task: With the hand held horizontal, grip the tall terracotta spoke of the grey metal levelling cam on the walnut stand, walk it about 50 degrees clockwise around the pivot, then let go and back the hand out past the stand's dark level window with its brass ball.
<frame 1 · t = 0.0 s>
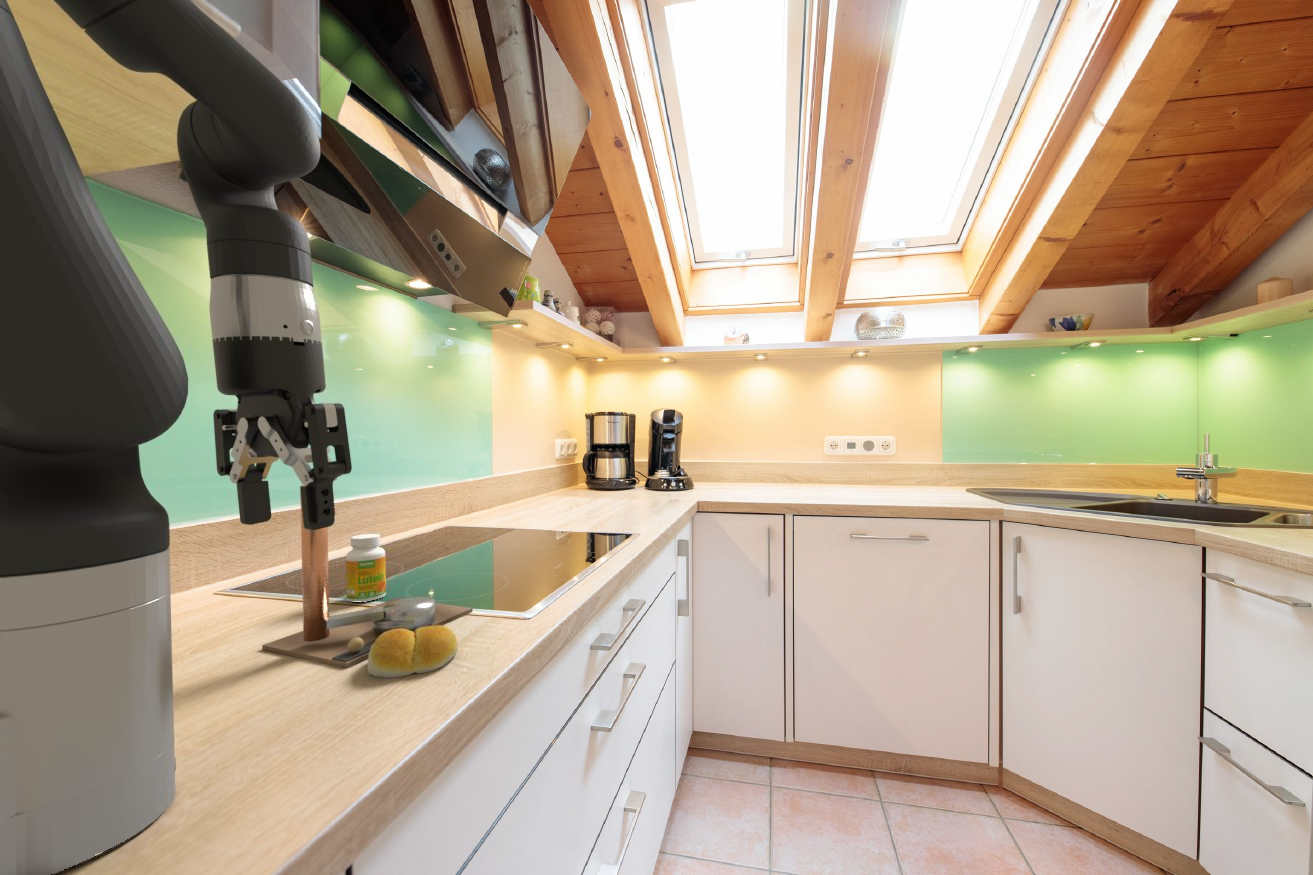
hand: (287, 525, 45), 17 cm above the counter, tool pointing down, fingers open, 8 cm apart
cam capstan: (371, 555, 64), point 10 cm above the counter, hinge at 25.0°
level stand: (410, 630, 67), on the counter
bread roll: (412, 665, 57), on the counter
supplement bottle: (366, 599, 81), on the counter
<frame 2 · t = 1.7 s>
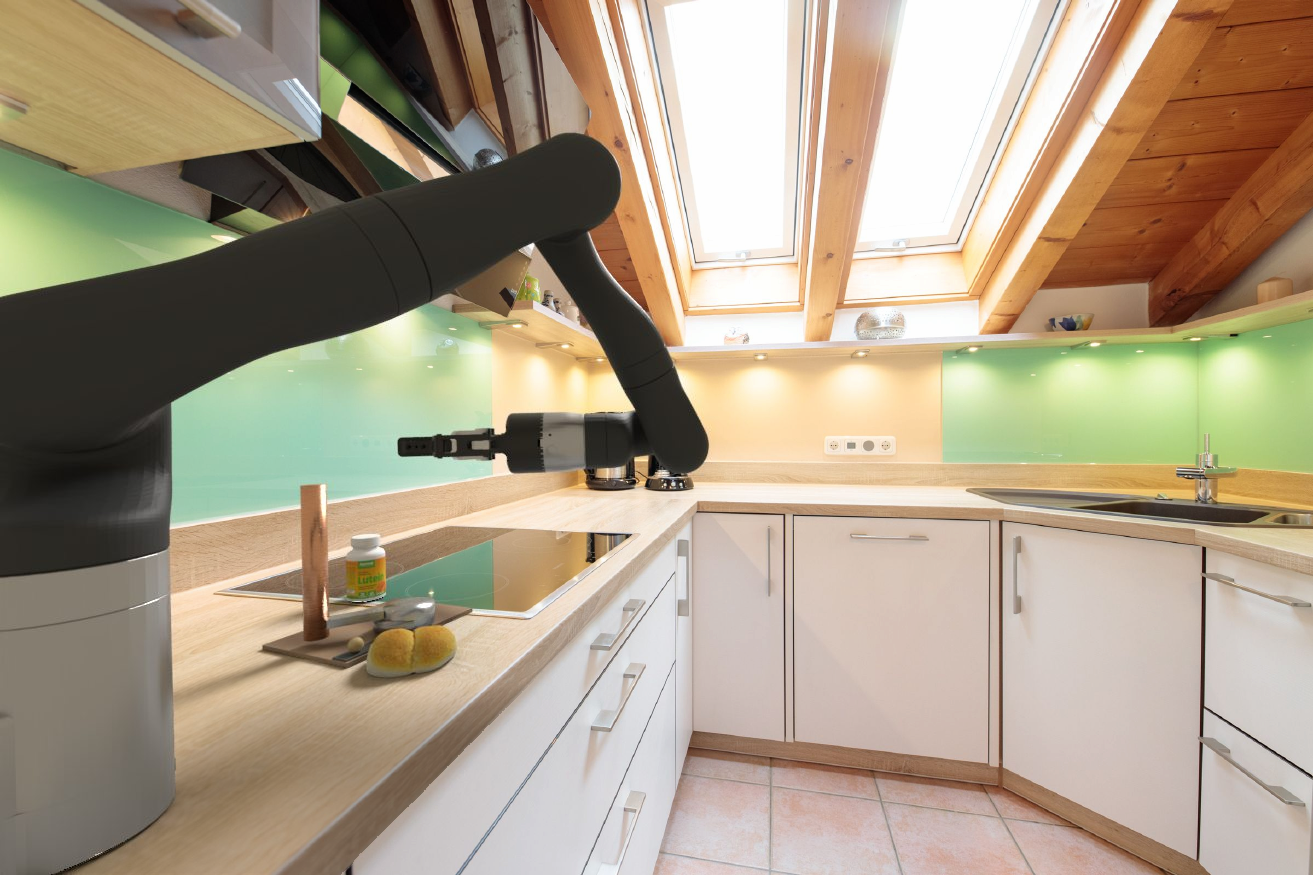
hand: (411, 446, 63), 24 cm above the counter, tool horizontal, fingers open, 8 cm apart
nothing on the counter moved.
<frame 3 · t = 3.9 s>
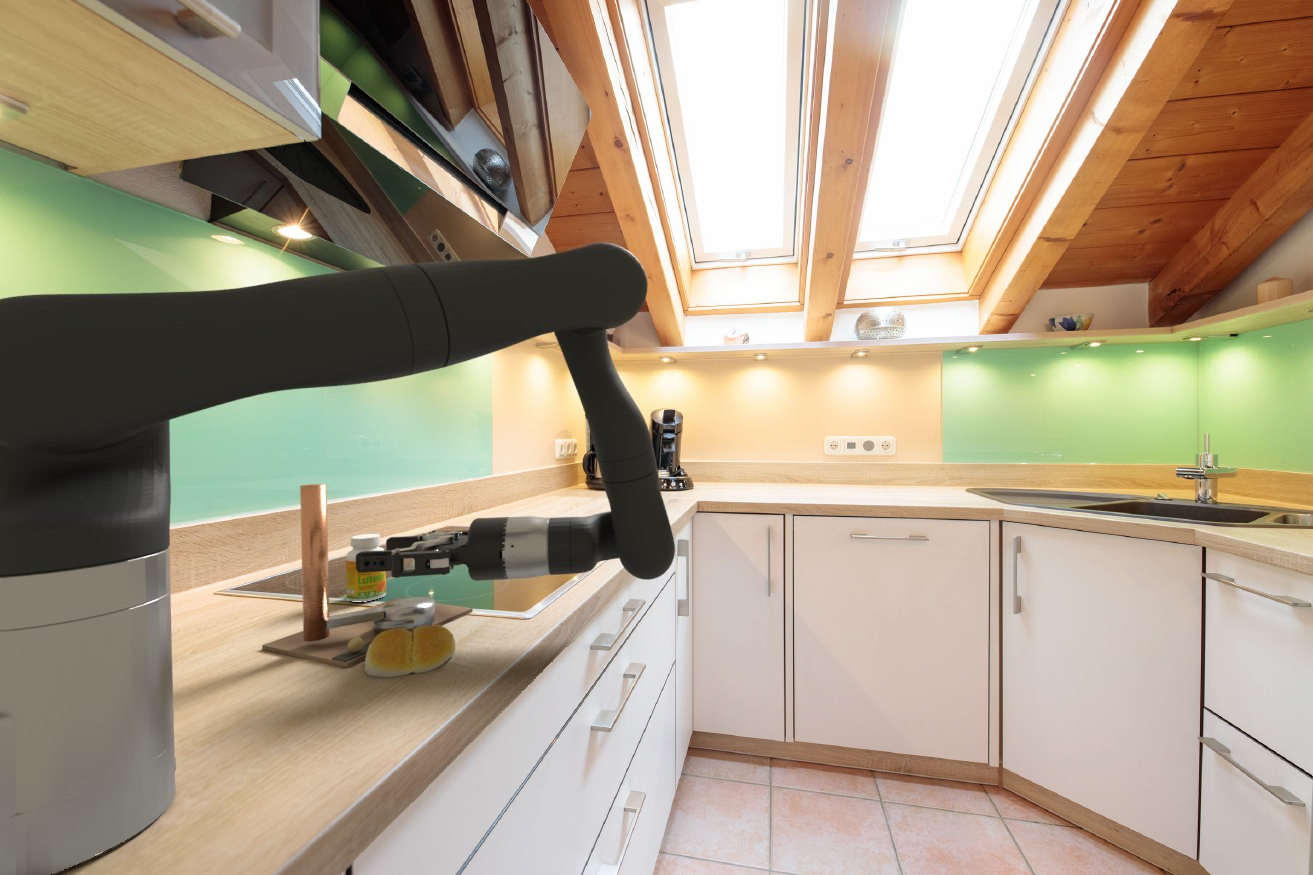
hand: (373, 553, 62), 11 cm above the counter, tool horizontal, fingers open, 8 cm apart
nothing on the counter moved.
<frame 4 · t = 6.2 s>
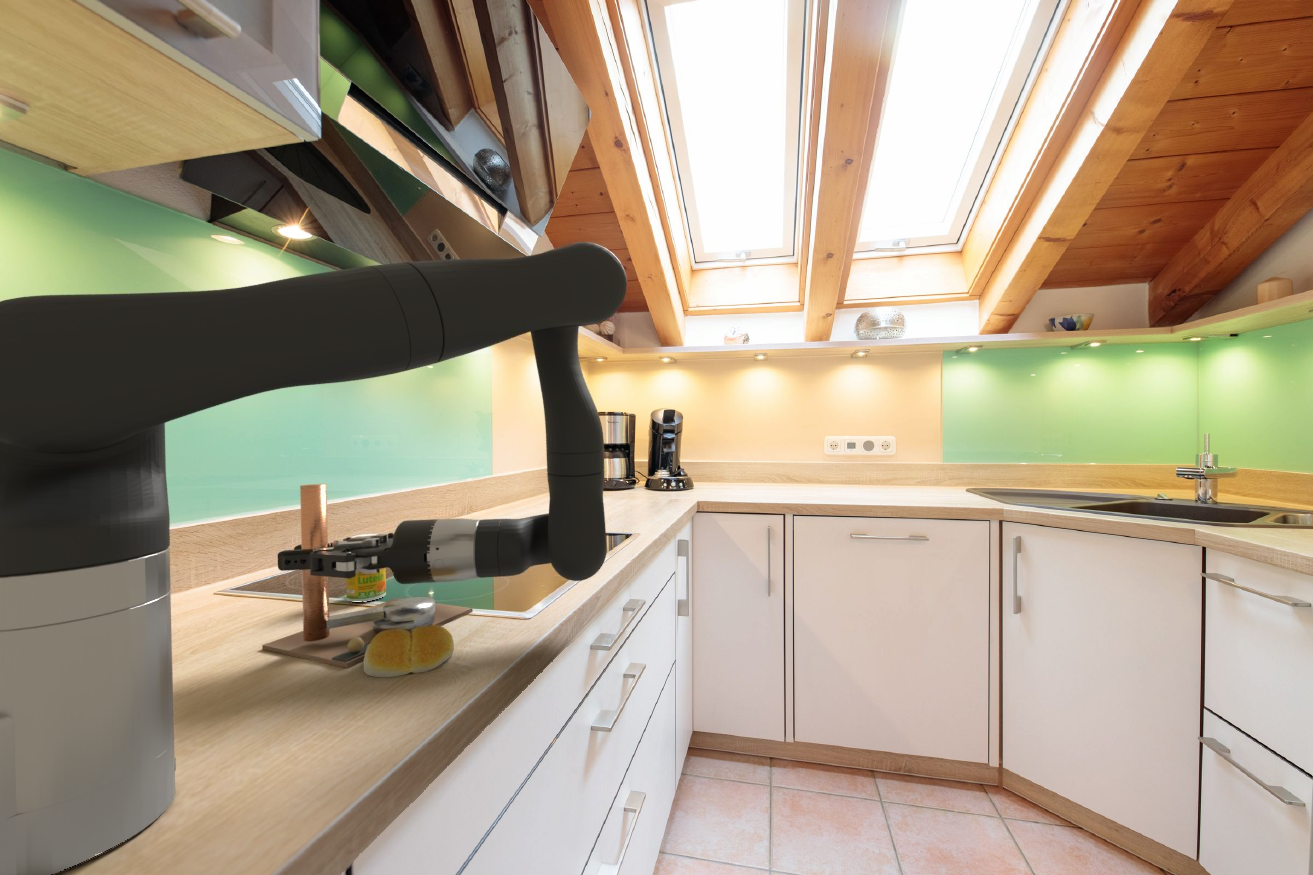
hand: (288, 557, 61), 11 cm above the counter, tool horizontal, fingers closed on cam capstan, 2 cm apart
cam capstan: (371, 555, 64), point 10 cm above the counter, hinge at 24.9°, touching gripper
everything else where it was.
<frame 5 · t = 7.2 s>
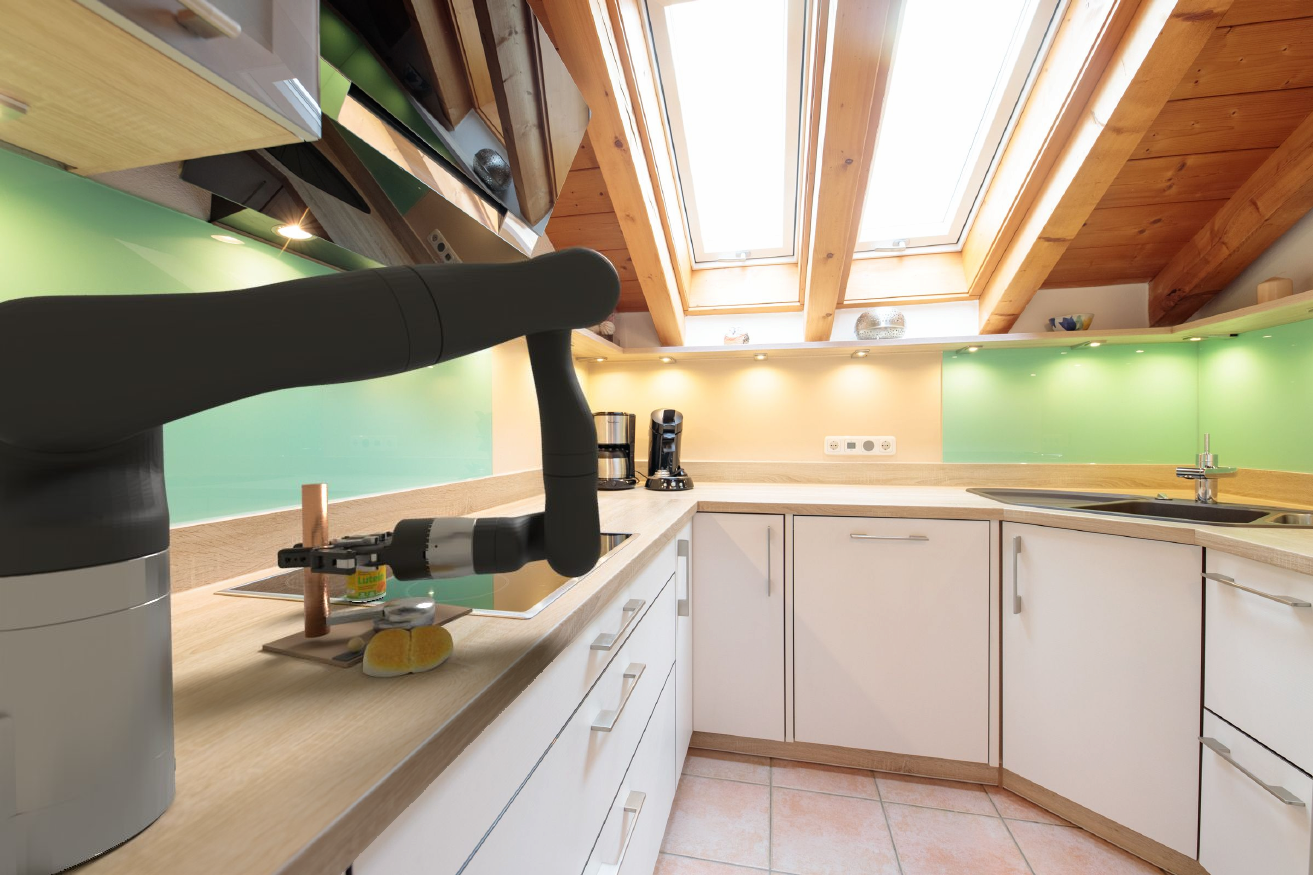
hand: (287, 555, 62), 11 cm above the counter, tool horizontal, fingers closed on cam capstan, 2 cm apart
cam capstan: (371, 555, 65), point 10 cm above the counter, hinge at 17.7°, touching gripper
everything else where it was.
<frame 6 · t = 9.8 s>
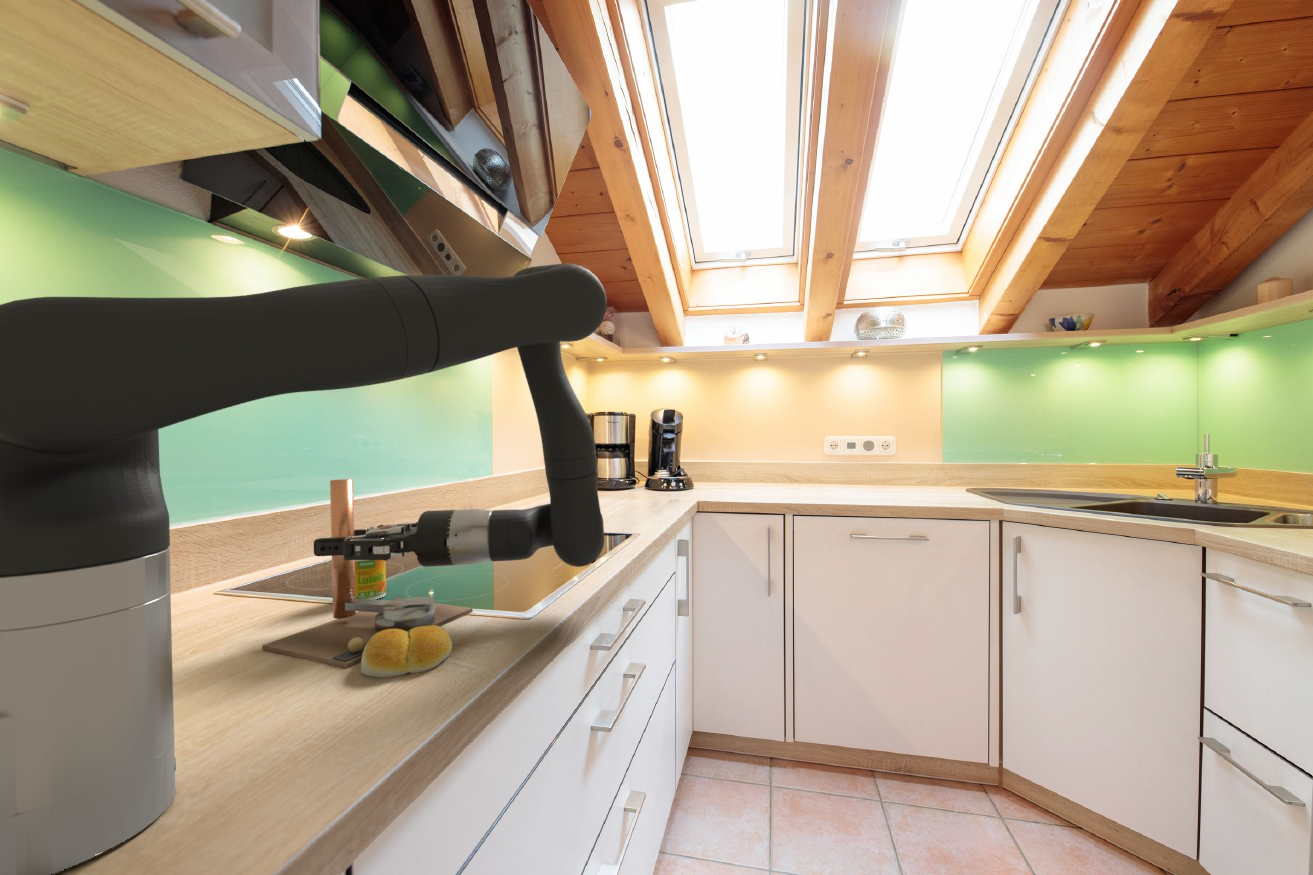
hand: (327, 542, 69), 11 cm above the counter, tool horizontal, fingers open, 5 cm apart
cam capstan: (380, 550, 67), point 10 cm above the counter, hinge at -20.4°
everything else where it was.
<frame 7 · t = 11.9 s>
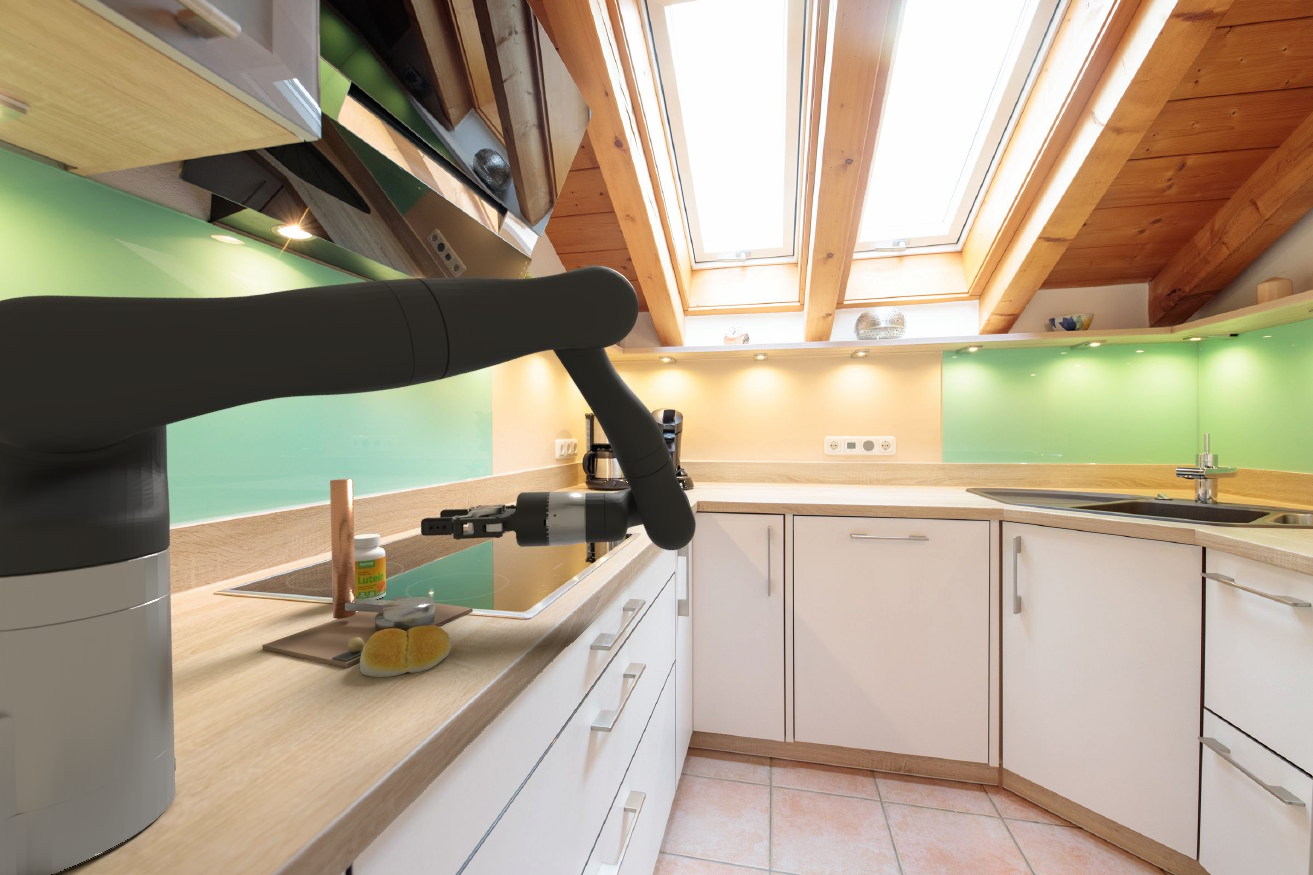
hand: (431, 521, 71), 13 cm above the counter, tool horizontal, fingers open, 8 cm apart
nothing on the counter moved.
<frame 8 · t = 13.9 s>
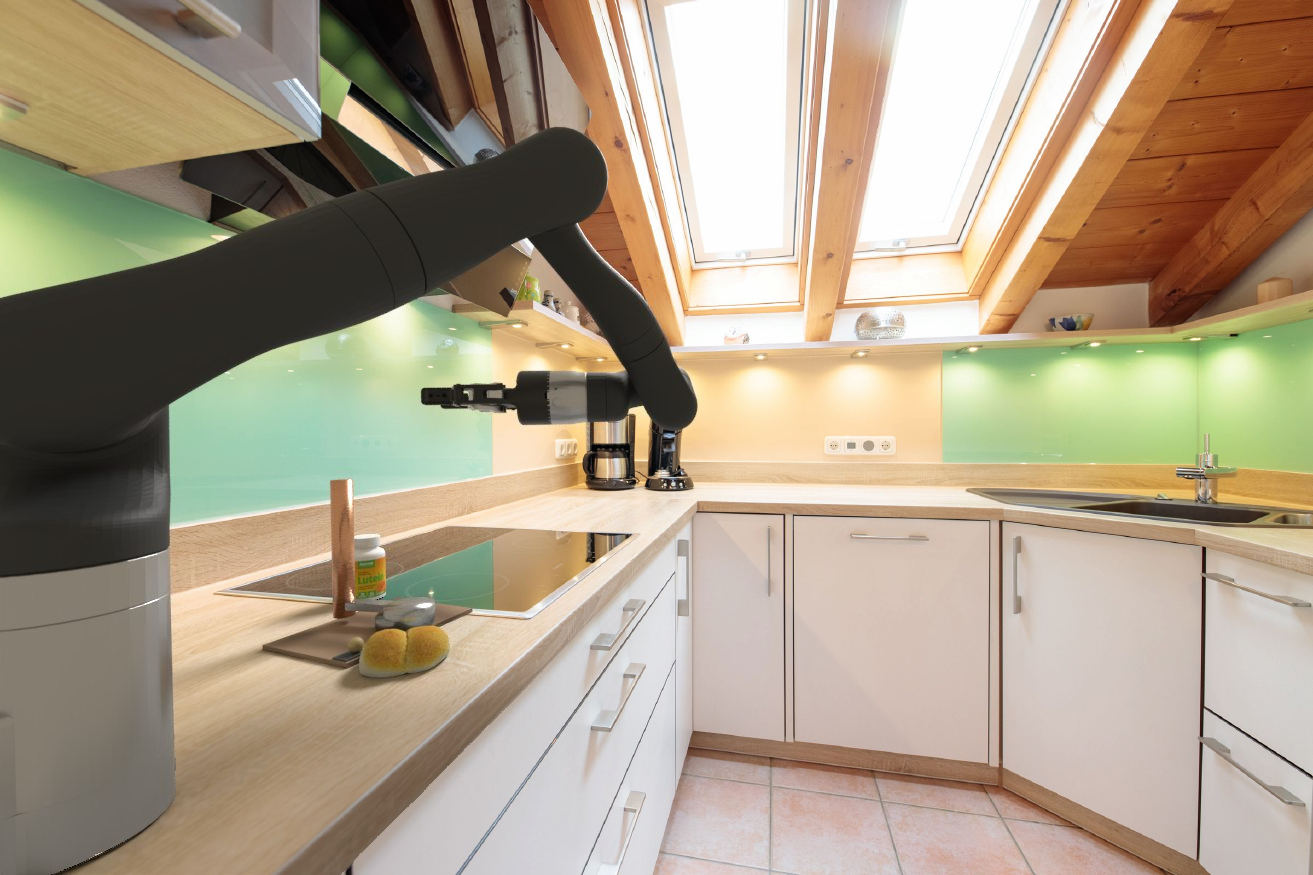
hand: (431, 399, 70), 30 cm above the counter, tool horizontal, fingers open, 8 cm apart
nothing on the counter moved.
at the end: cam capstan at -20° (first picture: +25°); the gripper is holding nothing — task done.
